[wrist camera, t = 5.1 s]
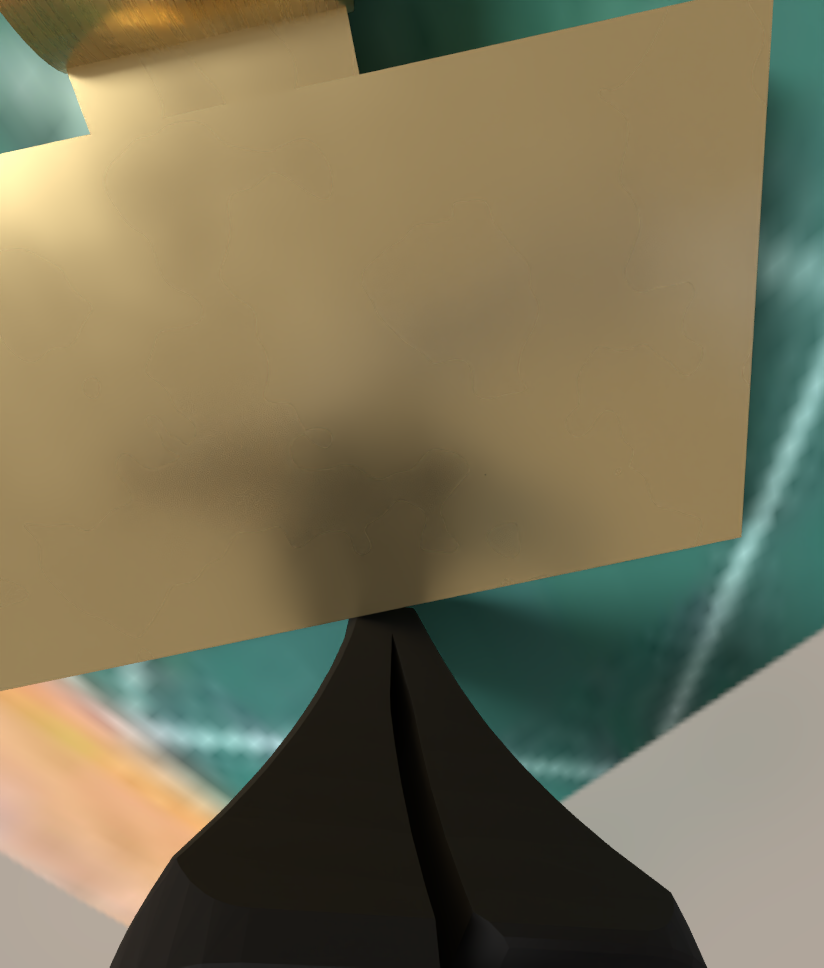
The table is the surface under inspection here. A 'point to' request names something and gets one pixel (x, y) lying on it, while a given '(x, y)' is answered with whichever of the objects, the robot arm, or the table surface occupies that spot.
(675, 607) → the table surface
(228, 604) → the brass leaf
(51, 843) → the table surface
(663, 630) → the table surface
